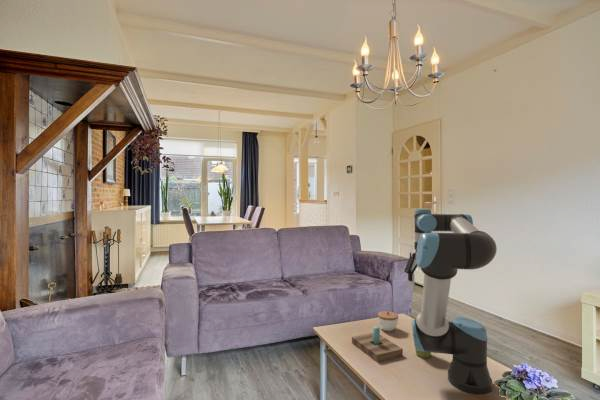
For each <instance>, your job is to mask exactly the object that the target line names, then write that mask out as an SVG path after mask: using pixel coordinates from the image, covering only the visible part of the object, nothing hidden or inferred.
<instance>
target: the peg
mask: <svg viewBox="0 0 600 400" xmlns="http://www.w3.org/2000/svg"><path fill="white" fill-rule="evenodd" d="M380 328H381V327H380V326H373V327H372V333H373V344H374V345H380V335H381V334H380V331H381V330H380Z"/></svg>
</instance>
